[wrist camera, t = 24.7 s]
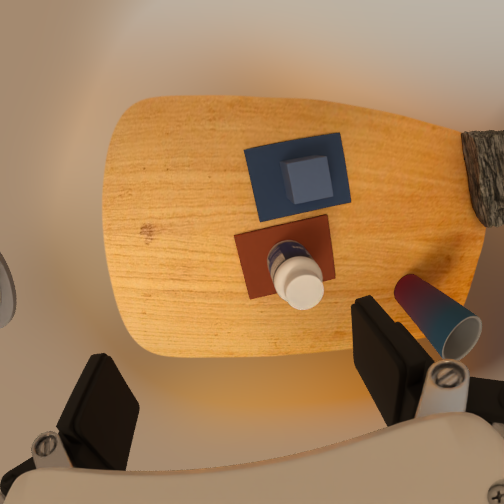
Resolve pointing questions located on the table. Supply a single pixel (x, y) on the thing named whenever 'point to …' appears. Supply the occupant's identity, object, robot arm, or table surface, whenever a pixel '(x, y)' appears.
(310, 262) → the pill bottle
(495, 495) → the robot arm
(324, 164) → the blue block
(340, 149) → the blue mat
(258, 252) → the rust mat
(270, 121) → the table surface
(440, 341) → the cup
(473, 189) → the rock
